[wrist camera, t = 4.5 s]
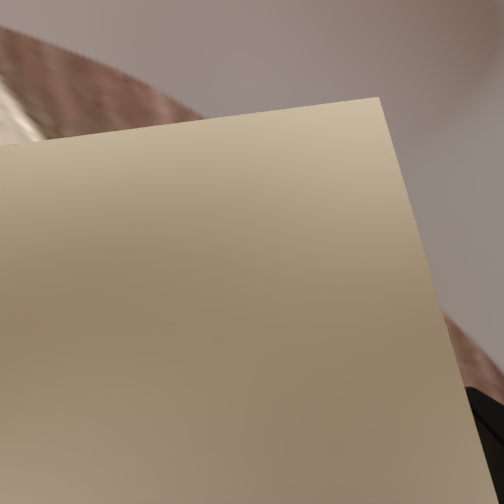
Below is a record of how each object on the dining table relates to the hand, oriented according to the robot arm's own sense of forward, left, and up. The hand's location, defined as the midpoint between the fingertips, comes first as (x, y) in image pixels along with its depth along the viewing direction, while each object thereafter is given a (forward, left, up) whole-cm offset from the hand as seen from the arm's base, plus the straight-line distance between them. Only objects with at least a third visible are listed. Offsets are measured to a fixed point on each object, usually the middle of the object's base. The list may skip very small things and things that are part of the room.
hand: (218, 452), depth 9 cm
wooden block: (+1, +1, -9) cm, 9 cm away
